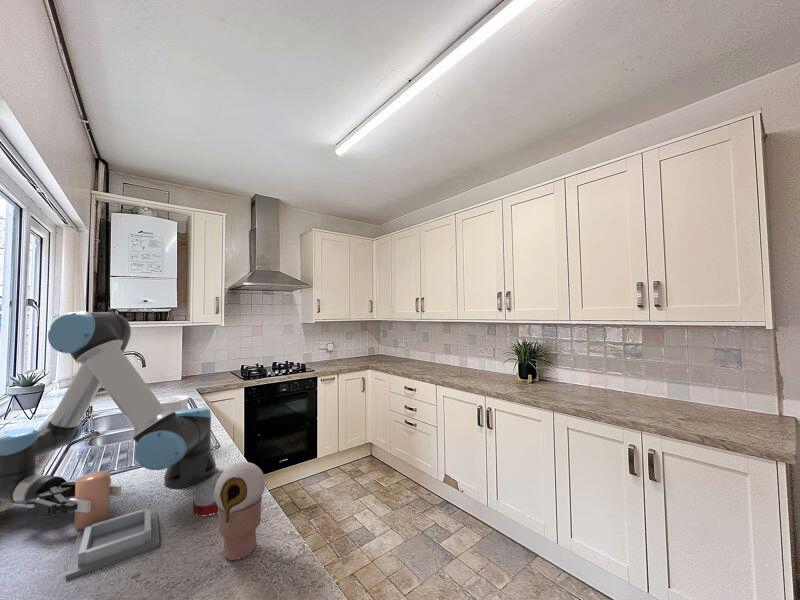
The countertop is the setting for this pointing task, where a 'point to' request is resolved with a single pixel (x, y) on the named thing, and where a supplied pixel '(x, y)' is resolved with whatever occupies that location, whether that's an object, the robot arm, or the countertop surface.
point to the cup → (174, 403)
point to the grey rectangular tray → (114, 541)
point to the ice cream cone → (239, 507)
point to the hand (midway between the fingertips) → (104, 498)
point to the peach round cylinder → (93, 498)
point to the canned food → (206, 497)
